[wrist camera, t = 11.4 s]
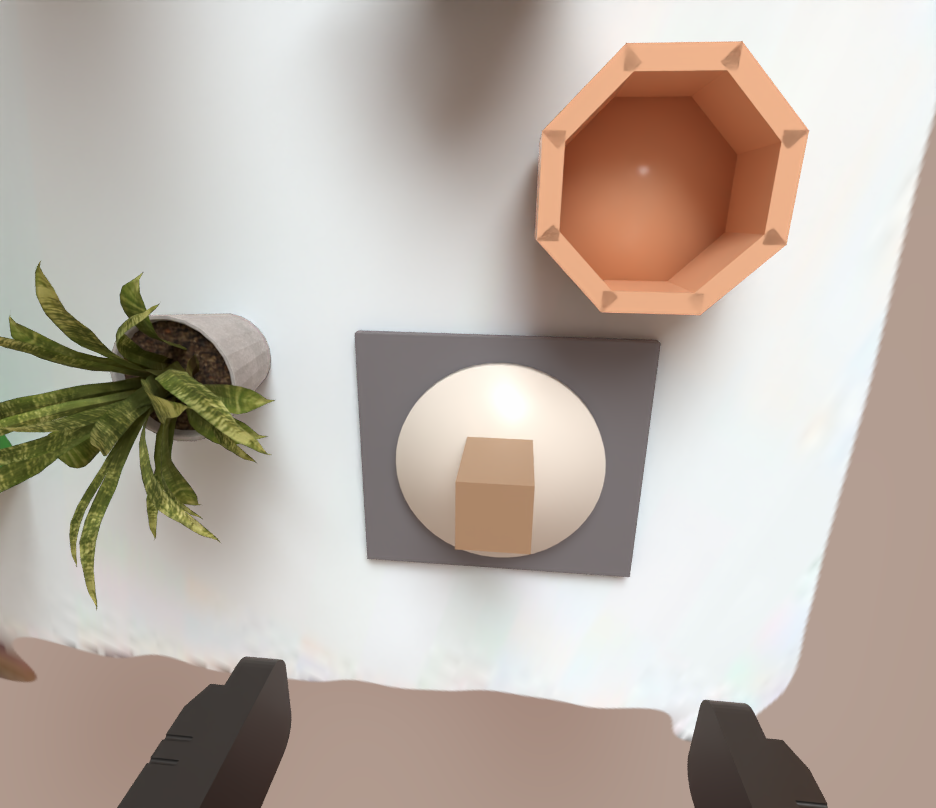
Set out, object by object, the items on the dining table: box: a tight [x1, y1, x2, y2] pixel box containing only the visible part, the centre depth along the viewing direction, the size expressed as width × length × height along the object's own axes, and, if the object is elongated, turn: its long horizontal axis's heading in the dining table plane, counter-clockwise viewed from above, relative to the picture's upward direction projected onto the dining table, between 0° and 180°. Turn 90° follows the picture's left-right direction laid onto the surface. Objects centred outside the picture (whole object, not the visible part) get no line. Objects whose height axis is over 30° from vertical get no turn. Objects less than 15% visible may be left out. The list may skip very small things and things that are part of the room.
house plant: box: [0, 261, 275, 609], centre depth 27 cm, size 14×14×16 cm
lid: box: [396, 363, 606, 557], centre depth 31 cm, size 13×13×7 cm
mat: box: [355, 331, 660, 577], centre depth 35 cm, size 18×16×1 cm
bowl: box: [535, 41, 809, 315], centre depth 26 cm, size 11×11×6 cm
